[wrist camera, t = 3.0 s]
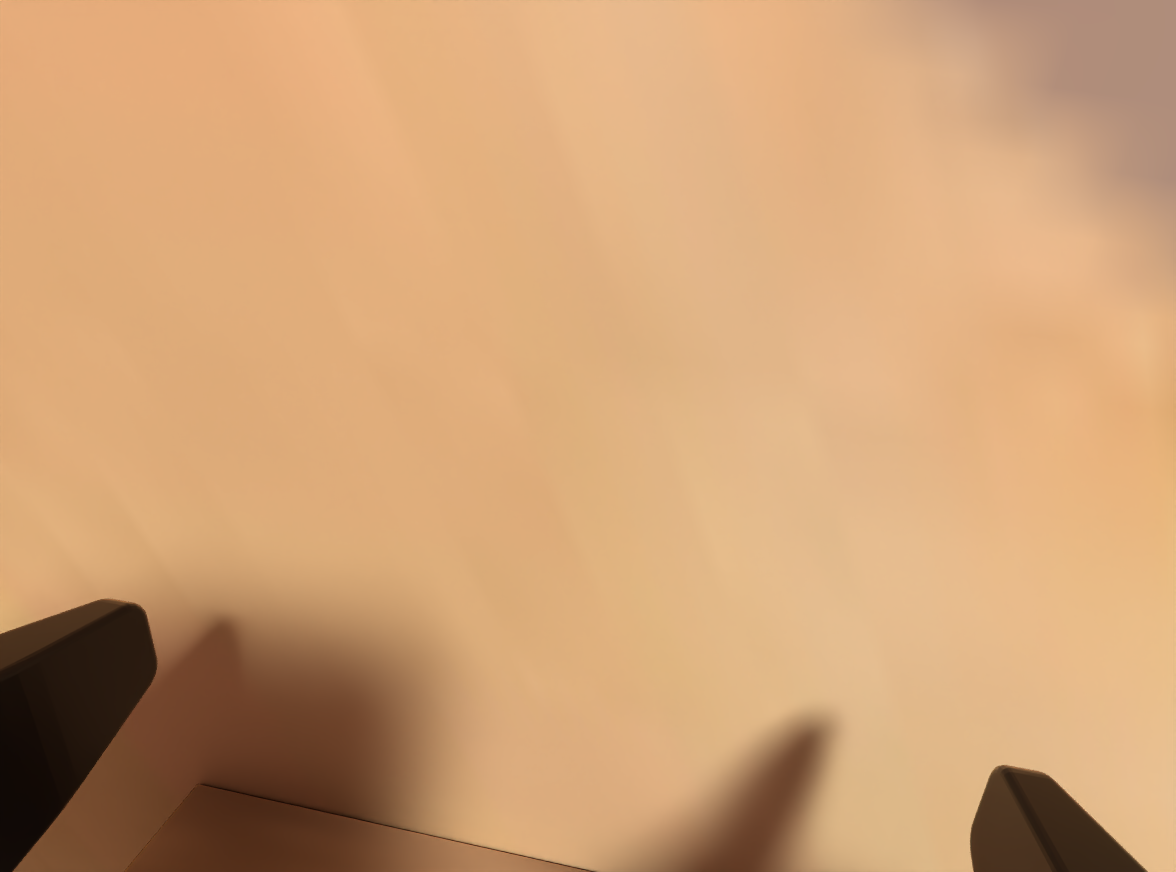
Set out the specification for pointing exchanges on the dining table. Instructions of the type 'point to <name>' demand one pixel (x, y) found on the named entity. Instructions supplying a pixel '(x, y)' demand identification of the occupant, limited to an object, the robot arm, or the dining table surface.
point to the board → (304, 842)
